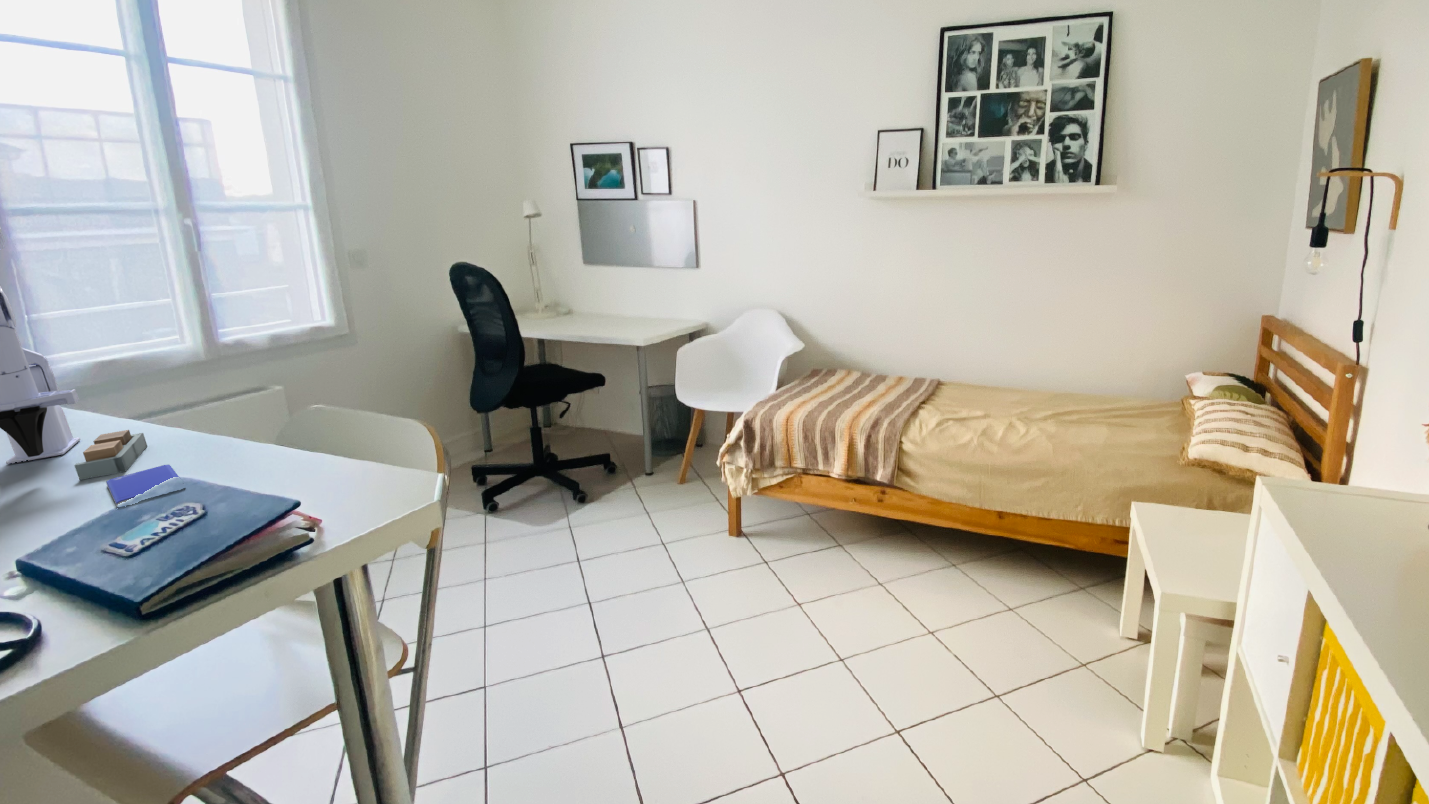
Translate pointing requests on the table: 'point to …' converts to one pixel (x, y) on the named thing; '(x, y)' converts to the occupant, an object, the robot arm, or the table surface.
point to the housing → (113, 460)
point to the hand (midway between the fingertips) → (36, 454)
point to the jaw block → (103, 450)
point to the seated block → (114, 437)
